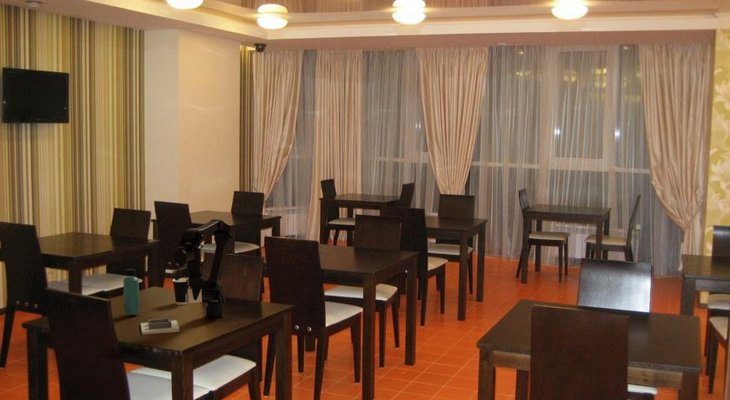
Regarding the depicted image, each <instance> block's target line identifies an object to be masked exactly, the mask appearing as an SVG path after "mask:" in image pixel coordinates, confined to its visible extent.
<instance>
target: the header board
mask: <svg viewBox="0 0 730 400" xmlns="http://www.w3.org/2000/svg"><path fill="white" fill-rule="evenodd" d="M147 321H148V322H141V323H140V329H141V335H142V336H143V335H153V334H163V333H176V332H180V327H179V324H178V321H177V320H175V319H174V320H171V317H165V318H152V319H147Z"/></svg>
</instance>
